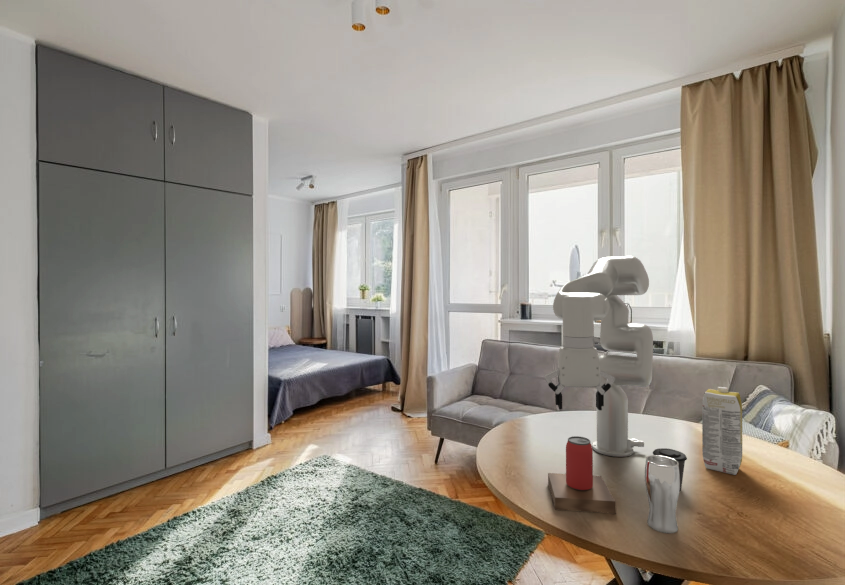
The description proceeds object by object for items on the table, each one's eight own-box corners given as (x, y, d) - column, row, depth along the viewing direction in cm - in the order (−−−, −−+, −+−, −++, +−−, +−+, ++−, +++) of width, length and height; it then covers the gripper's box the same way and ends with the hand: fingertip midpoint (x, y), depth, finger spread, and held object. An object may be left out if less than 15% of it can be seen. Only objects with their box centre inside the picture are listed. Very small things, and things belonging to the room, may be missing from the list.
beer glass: (638, 518, 101) (638, 455, 101) (666, 516, 102) (666, 453, 101) (657, 535, 94) (657, 467, 94) (687, 533, 95) (687, 466, 95)
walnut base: (601, 486, 117) (601, 475, 117) (615, 513, 103) (615, 501, 103) (548, 483, 119) (548, 472, 119) (555, 509, 106) (555, 497, 106)
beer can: (595, 492, 108) (594, 445, 107) (567, 490, 109) (567, 443, 109) (590, 481, 114) (590, 436, 114) (564, 479, 115) (564, 434, 115)
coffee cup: (675, 497, 111) (675, 459, 111) (646, 485, 118) (645, 448, 118) (693, 490, 114) (693, 453, 114) (664, 478, 122) (664, 443, 121)
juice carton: (743, 468, 127) (743, 388, 127) (739, 477, 122) (739, 393, 121) (706, 460, 134) (705, 383, 133) (700, 468, 128) (700, 388, 128)
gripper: (609, 340, 113) (610, 404, 114) (542, 340, 116) (543, 403, 117) (617, 345, 106) (618, 413, 106) (545, 345, 109) (546, 412, 109)
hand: (579, 408), depth 111 cm, fingers open, 9 cm apart
